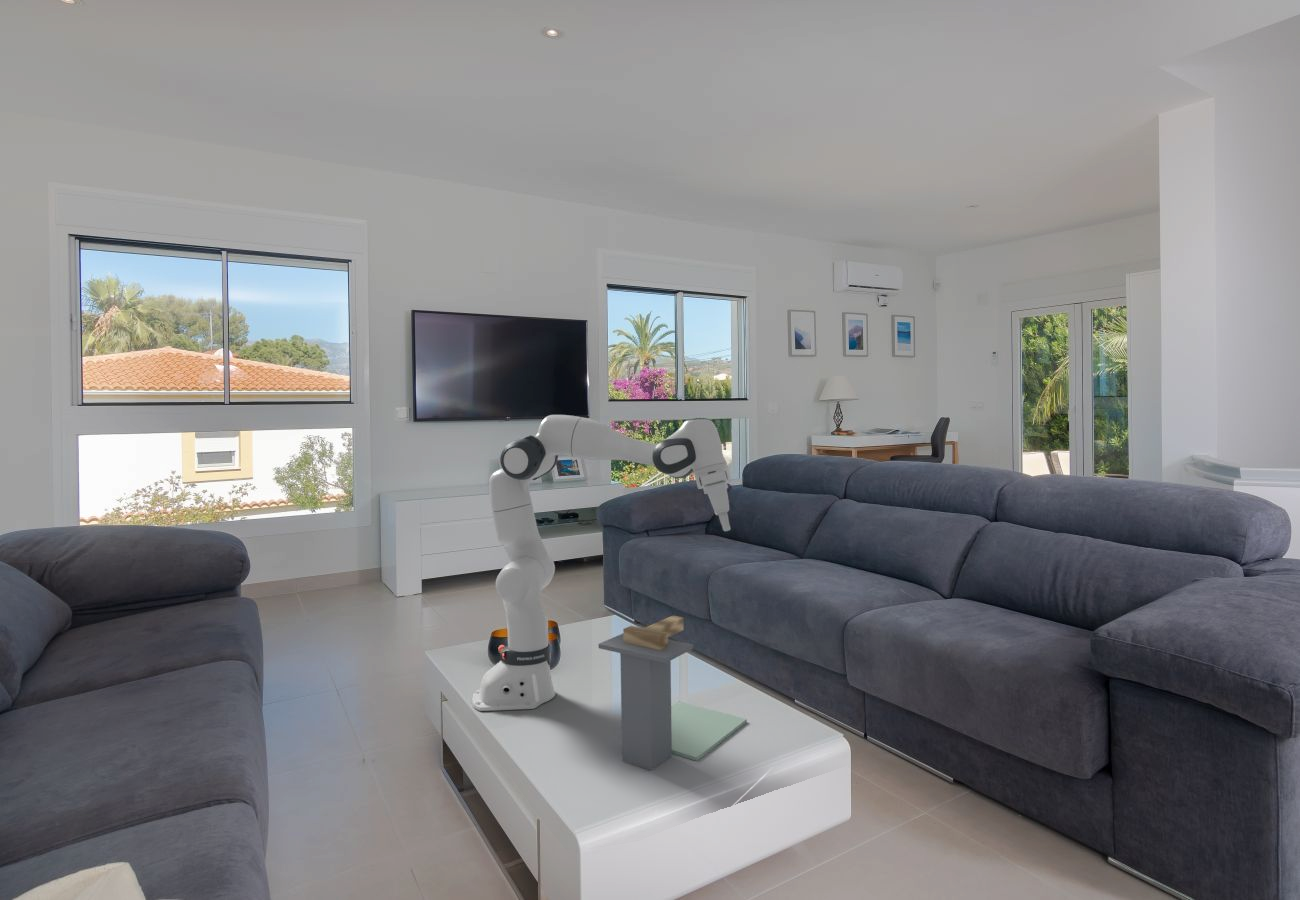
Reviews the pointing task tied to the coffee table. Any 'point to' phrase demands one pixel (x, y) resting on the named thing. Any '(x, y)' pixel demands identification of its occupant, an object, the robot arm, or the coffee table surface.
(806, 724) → the coffee table surface
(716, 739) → the mat
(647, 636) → the t bar
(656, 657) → the stand
